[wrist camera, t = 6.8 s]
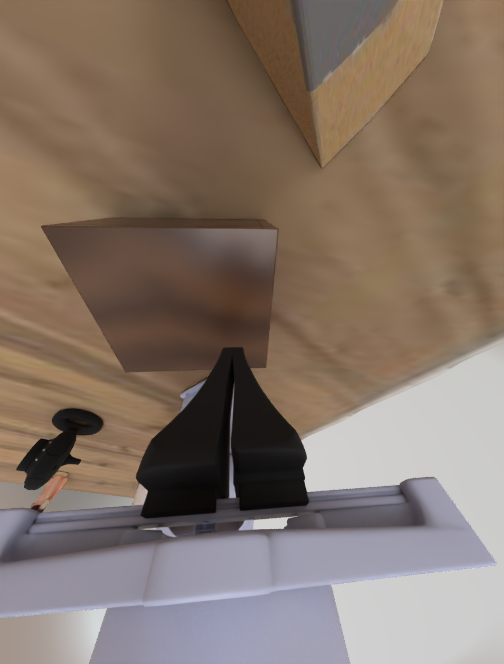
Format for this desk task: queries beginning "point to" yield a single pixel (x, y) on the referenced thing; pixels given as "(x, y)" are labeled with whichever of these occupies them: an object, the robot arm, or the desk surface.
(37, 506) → the grandmother figurine
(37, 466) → the webcam
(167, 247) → the lid
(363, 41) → the sandwich container
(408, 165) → the desk surface
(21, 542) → the robot arm
